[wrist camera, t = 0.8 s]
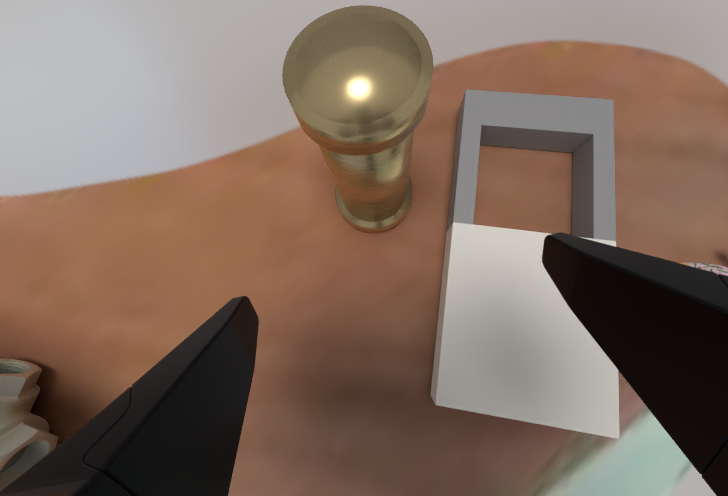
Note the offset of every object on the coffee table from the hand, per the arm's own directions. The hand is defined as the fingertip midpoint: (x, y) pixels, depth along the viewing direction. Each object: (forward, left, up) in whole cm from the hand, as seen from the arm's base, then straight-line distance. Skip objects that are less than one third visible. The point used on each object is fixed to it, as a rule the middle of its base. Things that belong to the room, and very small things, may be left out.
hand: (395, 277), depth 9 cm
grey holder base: (-6, -7, -13) cm, 16 cm away
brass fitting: (+5, -6, -13) cm, 16 cm away
